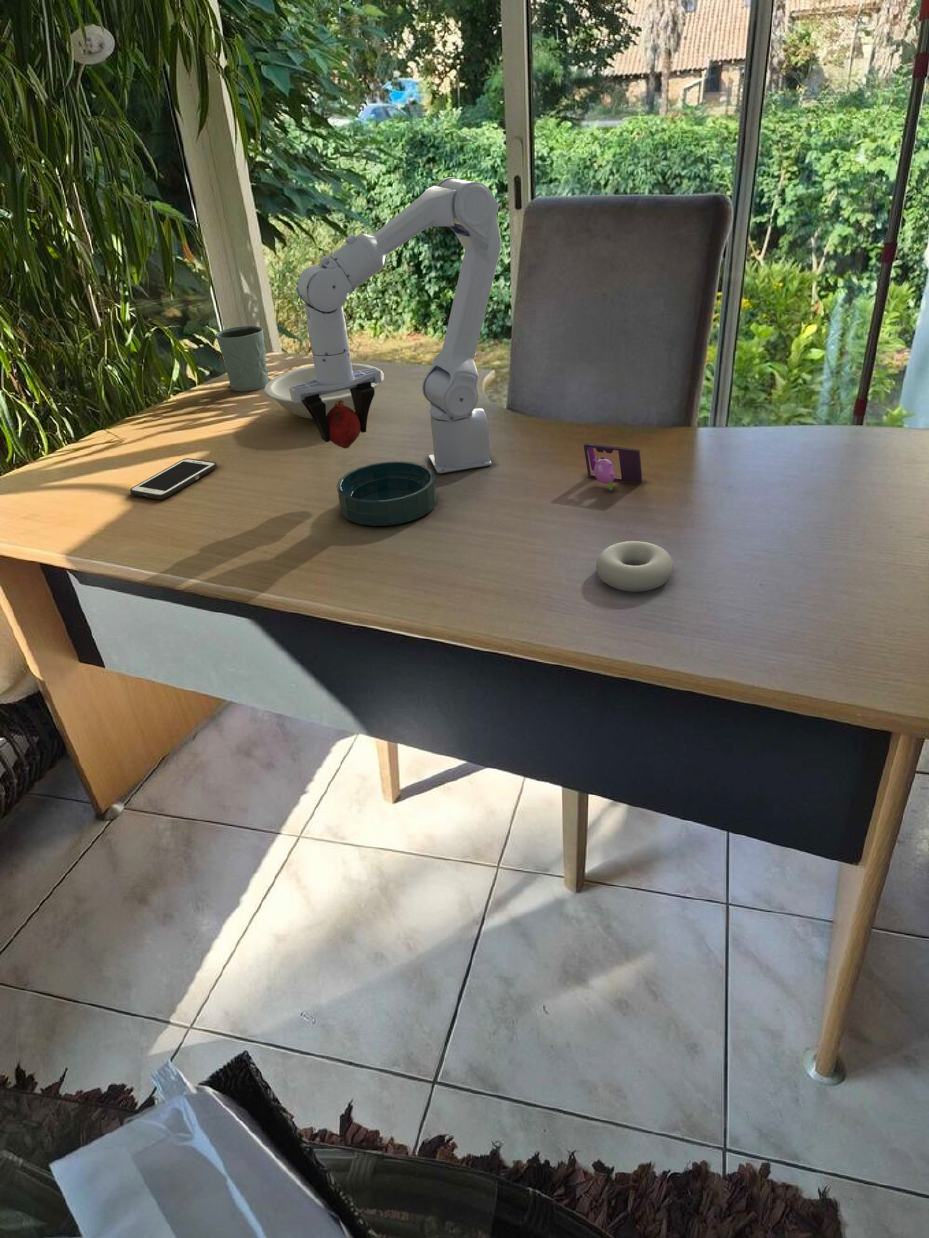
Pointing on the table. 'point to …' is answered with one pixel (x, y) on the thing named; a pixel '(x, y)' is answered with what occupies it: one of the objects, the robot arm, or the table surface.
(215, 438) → the table surface
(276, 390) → the soup bowl
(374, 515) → the teal bowl
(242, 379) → the textured green cup
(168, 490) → the cell phone
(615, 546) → the donut
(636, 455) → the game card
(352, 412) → the onion
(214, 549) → the table surface
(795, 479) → the table surface
